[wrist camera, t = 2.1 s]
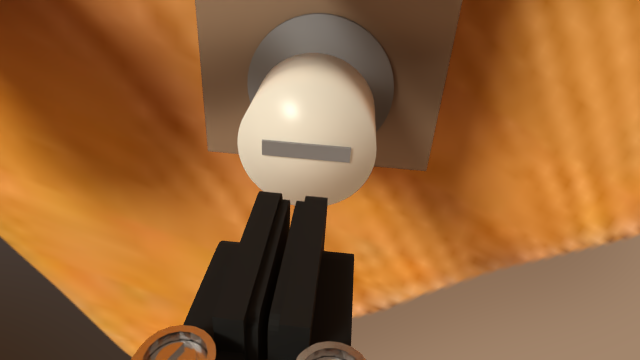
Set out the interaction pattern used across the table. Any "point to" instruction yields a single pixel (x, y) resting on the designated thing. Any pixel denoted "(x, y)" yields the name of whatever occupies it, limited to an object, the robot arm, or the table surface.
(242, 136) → the knob
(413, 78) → the knob bar
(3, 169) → the table surface
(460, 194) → the table surface
